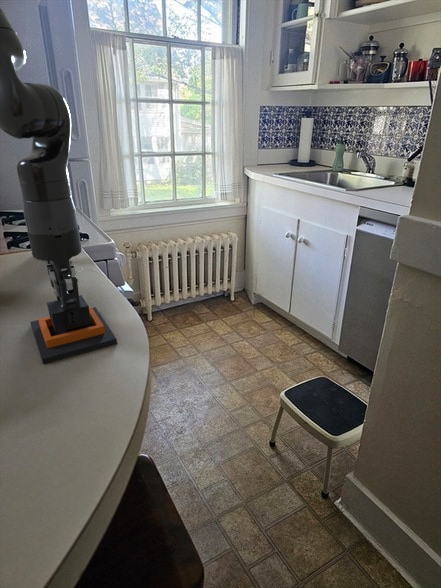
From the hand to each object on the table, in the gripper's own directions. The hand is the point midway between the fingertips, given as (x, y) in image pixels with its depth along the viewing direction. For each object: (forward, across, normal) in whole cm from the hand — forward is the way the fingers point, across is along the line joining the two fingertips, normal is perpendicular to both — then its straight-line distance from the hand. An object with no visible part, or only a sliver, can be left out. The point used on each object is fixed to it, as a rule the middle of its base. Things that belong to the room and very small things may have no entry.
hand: (70, 319), depth 69 cm
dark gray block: (0, 0, 0) cm, 0 cm away
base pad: (+3, 0, 0) cm, 3 cm away
